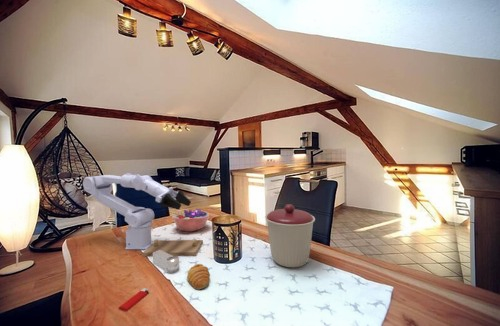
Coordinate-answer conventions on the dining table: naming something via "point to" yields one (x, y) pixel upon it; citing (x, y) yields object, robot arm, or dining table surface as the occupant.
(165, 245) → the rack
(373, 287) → the dining table surface
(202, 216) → the cell model
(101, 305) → the dining table surface
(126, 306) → the lighter
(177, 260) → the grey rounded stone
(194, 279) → the pastry
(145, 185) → the robot arm
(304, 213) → the canister
